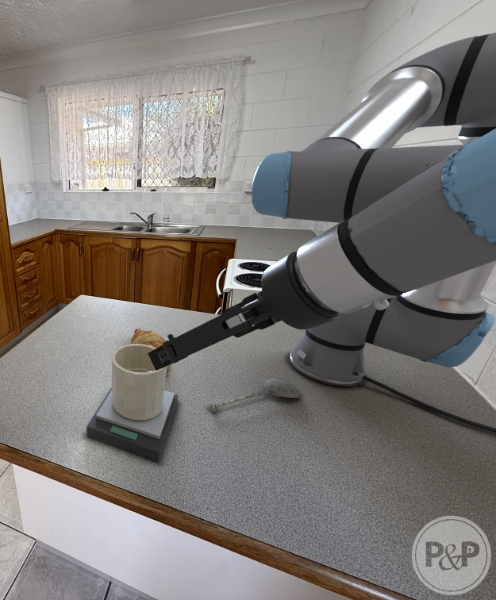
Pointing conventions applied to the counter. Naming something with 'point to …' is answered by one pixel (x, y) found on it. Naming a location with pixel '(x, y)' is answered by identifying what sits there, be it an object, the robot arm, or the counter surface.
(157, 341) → the croissant
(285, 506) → the counter surface
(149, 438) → the scale
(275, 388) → the soupspoon
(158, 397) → the cream cylinder cup
